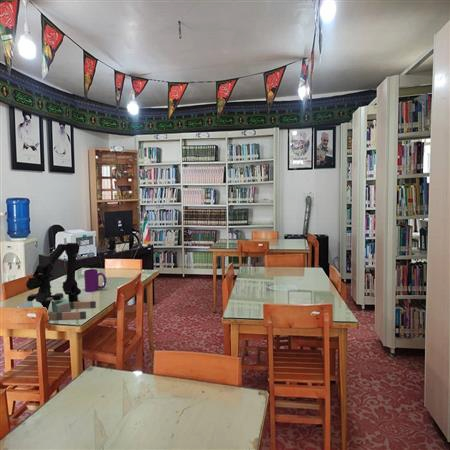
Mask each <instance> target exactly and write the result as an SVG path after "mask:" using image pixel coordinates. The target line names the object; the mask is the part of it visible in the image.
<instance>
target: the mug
mask: <svg viewBox="0 0 450 450" xmlns="http://www.w3.org/2000/svg"><path fill="white" fill-rule="evenodd" d="M83 274H84V276H83V277H84V290H85V292H87V293H92V292H93V293H94V292H97V291H98V290H99V289H100V290H101V289H104V288H105V287H106V286H107V277H106V275H105V274H104V273H102V272H98V269H96V268H95V269H94V268H93V269H92V268H89V269H85V270H84V271H83ZM99 276H102V278H103V285H100V284H99V283H100V282H99V281H100V280H99Z"/></svg>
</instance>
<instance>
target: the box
mask: <svg viewBox="0 0 450 450" xmlns="http://www.w3.org/2000/svg"><path fill="white" fill-rule="evenodd" d="M51 310H52V312H51V313H58V312H72V311H71V310H72V309H70V303H69V300H67V299H66V298H62V299H61V300H52V301H51Z"/></svg>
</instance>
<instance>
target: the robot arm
mask: <svg viewBox="0 0 450 450" xmlns="http://www.w3.org/2000/svg"><path fill="white" fill-rule="evenodd" d="M80 249H81V248H80V244H79V243H77V242H67V243H59V244H57V246H56V248H55V249H54V250H53V251H52V252H51V254H50V255H49V256H48V257H47V258H46V259H45V260H42V261H41V262H40V263H39V264H37V266H36V269H35V271H34V272H33V275H32V277H28V280H27V281H26V283H25V286H26V288H27V289H28V290H29V291H33V290H36V289H38V291H37V293H31V294H30V295H28V296H27V298H26V301H27V302H34V301H36V303H40V304H41V306H42V307H46V308H47V310H48V311H49V307H50V304H52V301H53V300H61V299H63V298H64V294H65V295H68V296H67V297H68V300H67V301H68V302H81V301H80V300H79V295H80V294H82V290H81V288H79V287H78V286H79V285H78V282H77V280H76V263H77V262H76V261H77V256H78V255H79V252H80ZM63 253H65V254H66V256H67V262H66V263H67V265H66V266H67V267H66V278H65V280H64V281H63V282H62V290H63V292H64V294H63V293H62V292H60V293H59V292H57V293H55V294H53V293H52V290H51V289H52V285H51V277H53V274H52V271H53V269H54V265H55V264H56V262H57V261H58V260H59V258H60V257H61V256H62V255H63ZM64 299H65V298H64Z"/></svg>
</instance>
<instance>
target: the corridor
mask: <svg viewBox="0 0 450 450" xmlns="http://www.w3.org/2000/svg"><path fill="white" fill-rule="evenodd" d="M68 302H69V301H68ZM69 303H70V310H72V309H73V310H74V309H77V310H79V309H96V306H97V305H96V300H95V301H94V300H93V301H91V300H89V301H80V302H69ZM47 313H48V316H49V320H48V321H61V320H62V321H63V320H64V321H65V320H66V321H67V320H86V319H87V311H71V312H58V313H53V312H47Z"/></svg>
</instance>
